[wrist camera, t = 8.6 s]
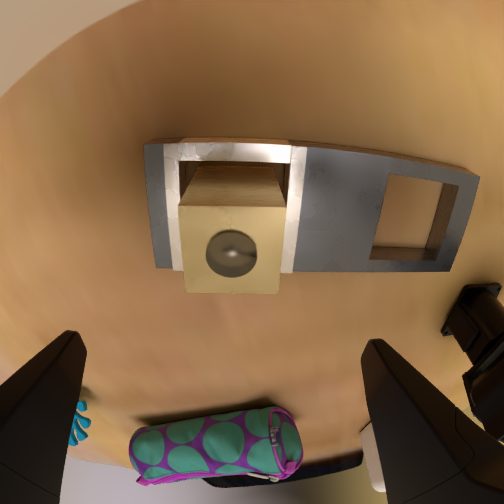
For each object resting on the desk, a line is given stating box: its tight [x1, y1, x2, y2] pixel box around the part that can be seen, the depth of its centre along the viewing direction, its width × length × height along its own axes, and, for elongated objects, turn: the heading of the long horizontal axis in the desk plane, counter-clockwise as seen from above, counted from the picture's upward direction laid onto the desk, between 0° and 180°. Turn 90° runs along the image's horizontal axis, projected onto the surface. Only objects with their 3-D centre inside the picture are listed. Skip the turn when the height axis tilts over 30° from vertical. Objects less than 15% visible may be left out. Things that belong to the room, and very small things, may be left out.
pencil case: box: [129, 406, 303, 486], centre depth 29 cm, size 21×9×10 cm, turn 114°
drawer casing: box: [143, 137, 480, 273], centre depth 18 cm, size 22×8×2 cm, turn 87°
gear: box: [68, 401, 91, 446], centre depth 29 cm, size 11×6×10 cm
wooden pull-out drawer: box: [177, 166, 287, 294], centre depth 16 cm, size 4×4×7 cm
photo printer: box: [360, 422, 386, 492], centre depth 31 cm, size 10×4×12 cm, turn 168°
